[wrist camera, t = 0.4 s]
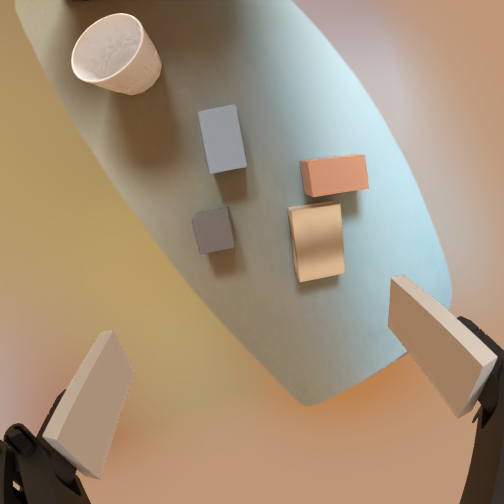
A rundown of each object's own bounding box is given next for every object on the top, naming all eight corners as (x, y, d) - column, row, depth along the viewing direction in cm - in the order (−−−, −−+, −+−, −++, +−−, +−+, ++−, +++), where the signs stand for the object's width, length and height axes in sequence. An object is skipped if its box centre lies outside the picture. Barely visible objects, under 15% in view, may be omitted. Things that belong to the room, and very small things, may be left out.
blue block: (201, 116, 30) (197, 111, 26) (235, 110, 30) (235, 103, 26) (212, 172, 32) (209, 174, 29) (245, 165, 32) (247, 166, 29)
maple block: (286, 207, 35) (291, 211, 32) (331, 200, 35) (340, 204, 32) (295, 272, 38) (300, 282, 35) (337, 264, 38) (344, 273, 35)
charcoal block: (196, 213, 34) (191, 220, 30) (228, 206, 34) (227, 213, 30) (203, 244, 35) (200, 254, 31) (234, 237, 35) (234, 247, 31)
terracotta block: (304, 192, 34) (313, 197, 30) (299, 161, 33) (307, 161, 29) (355, 184, 34) (368, 188, 30) (351, 154, 33) (364, 154, 29)
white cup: (179, 66, 27) (160, 35, 18) (133, 111, 29) (98, 97, 19) (141, 35, 25) (114, 2, 16) (98, 78, 27) (59, 59, 17)
